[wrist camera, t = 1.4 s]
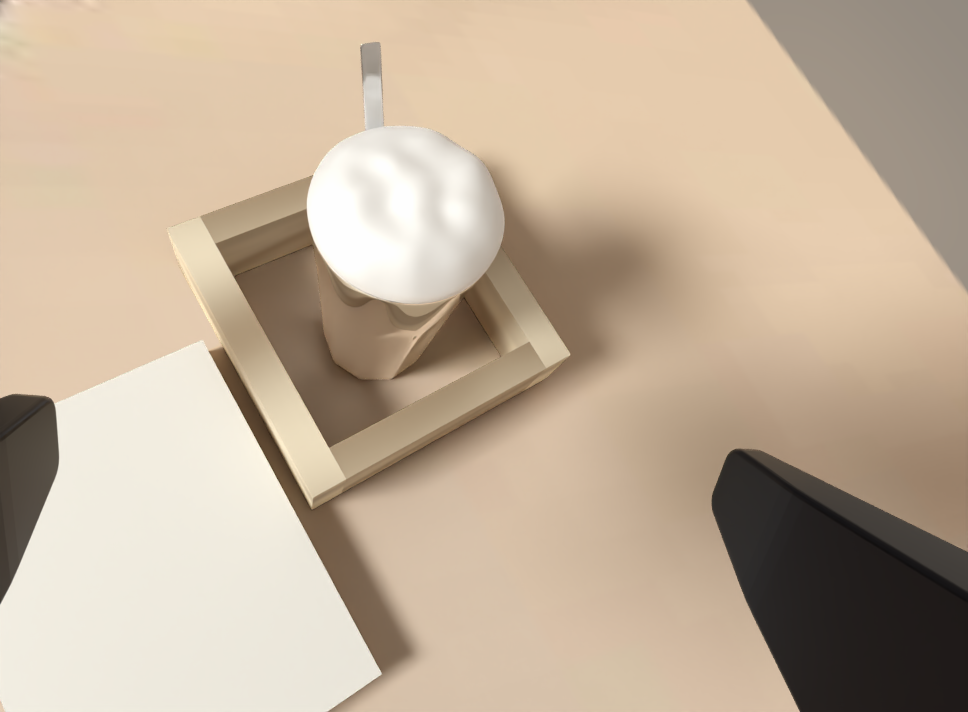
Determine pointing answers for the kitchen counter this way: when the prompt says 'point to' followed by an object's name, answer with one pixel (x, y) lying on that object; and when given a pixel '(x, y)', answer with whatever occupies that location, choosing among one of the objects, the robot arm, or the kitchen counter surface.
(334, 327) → the milkshake
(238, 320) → the holder
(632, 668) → the kitchen counter surface
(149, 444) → the pad
